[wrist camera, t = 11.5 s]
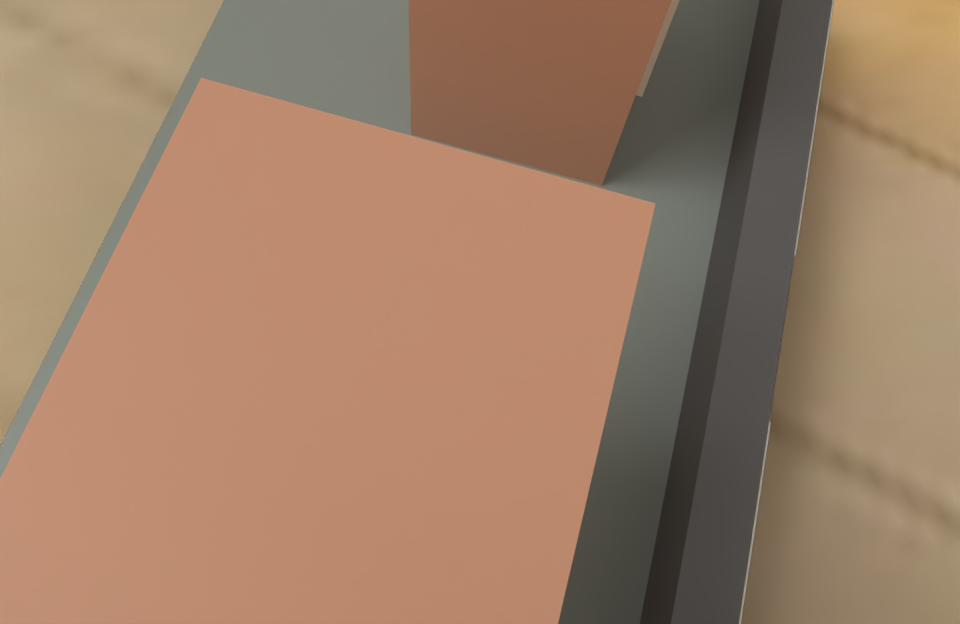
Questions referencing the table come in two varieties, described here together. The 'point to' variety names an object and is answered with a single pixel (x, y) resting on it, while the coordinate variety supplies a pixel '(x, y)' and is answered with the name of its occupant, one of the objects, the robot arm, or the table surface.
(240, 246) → the tea box
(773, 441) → the table surface
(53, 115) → the table surface
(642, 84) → the tea box
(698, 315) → the display shelf
